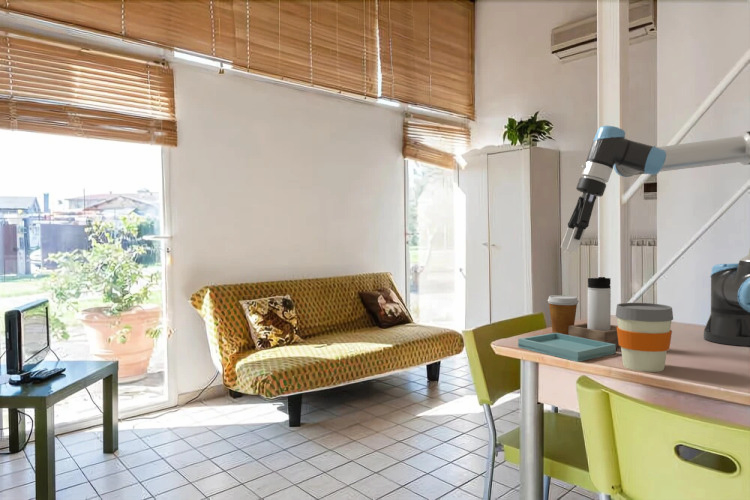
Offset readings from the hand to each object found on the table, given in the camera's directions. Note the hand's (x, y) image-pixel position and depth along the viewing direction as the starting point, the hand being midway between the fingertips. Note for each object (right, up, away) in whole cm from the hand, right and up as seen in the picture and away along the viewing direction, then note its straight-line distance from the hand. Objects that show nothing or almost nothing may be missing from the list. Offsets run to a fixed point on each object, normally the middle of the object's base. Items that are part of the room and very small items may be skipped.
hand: (568, 250), depth 152 cm
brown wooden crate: (+10, -28, +2) cm, 29 cm away
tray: (-3, -28, -6) cm, 29 cm away
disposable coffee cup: (+5, -27, +17) cm, 33 cm away
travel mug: (+10, -28, +2) cm, 30 cm away
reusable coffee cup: (+9, -29, -24) cm, 39 cm away
